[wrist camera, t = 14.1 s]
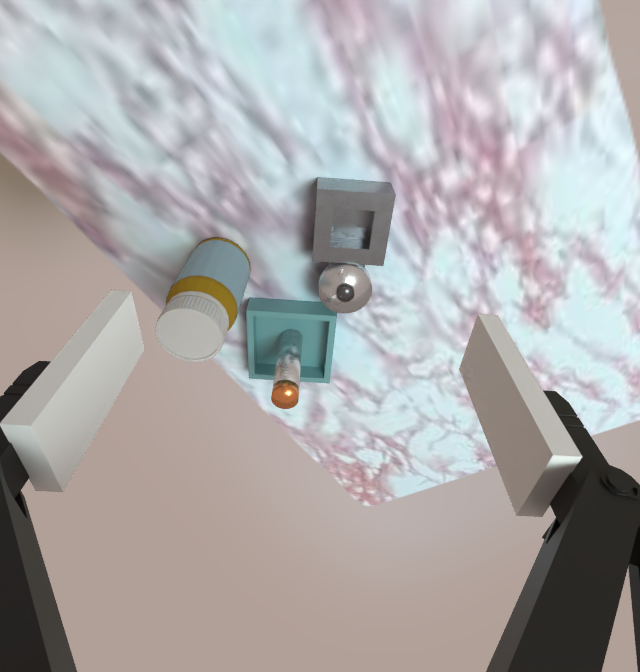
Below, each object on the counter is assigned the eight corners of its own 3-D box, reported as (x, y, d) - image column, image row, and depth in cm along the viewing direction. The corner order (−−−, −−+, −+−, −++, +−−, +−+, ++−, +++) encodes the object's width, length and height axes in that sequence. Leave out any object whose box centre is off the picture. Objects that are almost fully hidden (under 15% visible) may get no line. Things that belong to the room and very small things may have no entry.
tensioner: (372, 295, 53) (376, 319, 49) (310, 291, 53) (308, 314, 49) (390, 182, 45) (397, 199, 41) (317, 177, 45) (316, 193, 40)
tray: (249, 297, 54) (246, 310, 51) (336, 303, 54) (336, 316, 51) (252, 364, 60) (248, 378, 58) (329, 369, 60) (329, 383, 58)
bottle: (261, 278, 52) (240, 354, 40) (211, 295, 54) (177, 373, 41) (234, 227, 48) (203, 293, 36) (181, 247, 50) (134, 317, 38)
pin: (280, 328, 56) (271, 388, 46) (303, 329, 56) (298, 390, 46) (280, 346, 57) (271, 408, 48) (302, 347, 57) (297, 409, 48)
